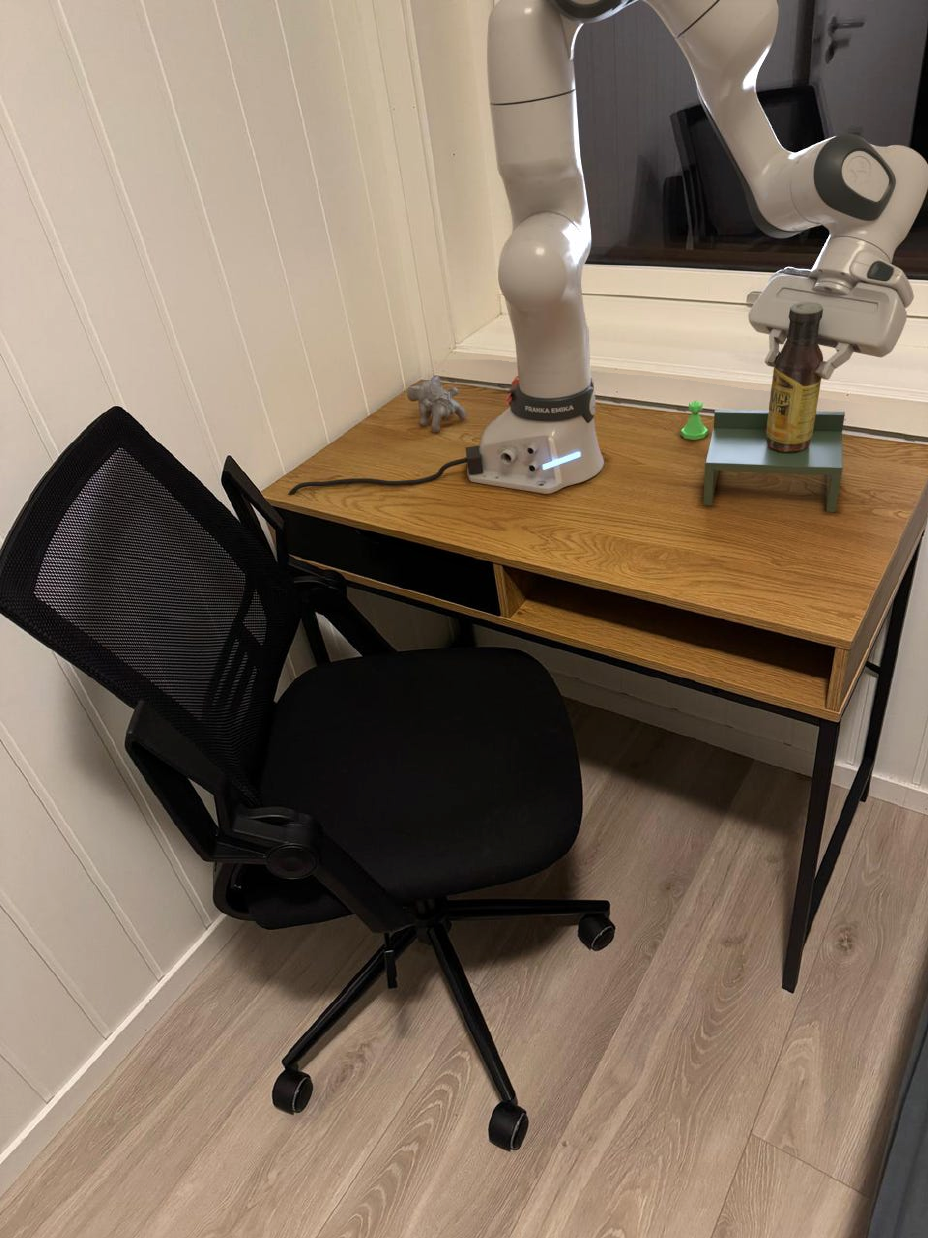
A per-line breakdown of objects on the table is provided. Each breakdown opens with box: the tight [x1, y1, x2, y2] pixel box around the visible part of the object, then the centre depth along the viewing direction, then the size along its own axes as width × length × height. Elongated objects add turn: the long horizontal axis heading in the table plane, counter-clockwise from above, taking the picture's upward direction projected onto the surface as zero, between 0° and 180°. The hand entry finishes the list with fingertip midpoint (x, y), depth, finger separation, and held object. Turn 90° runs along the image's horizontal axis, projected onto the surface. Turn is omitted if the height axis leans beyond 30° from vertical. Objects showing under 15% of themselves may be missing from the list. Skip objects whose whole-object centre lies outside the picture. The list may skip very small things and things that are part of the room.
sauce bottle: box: [766, 302, 824, 452], centre depth 116 cm, size 7×6×20 cm
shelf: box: [702, 409, 846, 513], centre depth 124 cm, size 18×12×10 cm, turn 71°
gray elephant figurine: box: [406, 375, 467, 434], centre depth 158 cm, size 9×12×8 cm
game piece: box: [680, 400, 709, 441], centre depth 142 cm, size 4×4×6 cm
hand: (795, 370), depth 115 cm, fingers closed on sauce bottle, 6 cm apart
